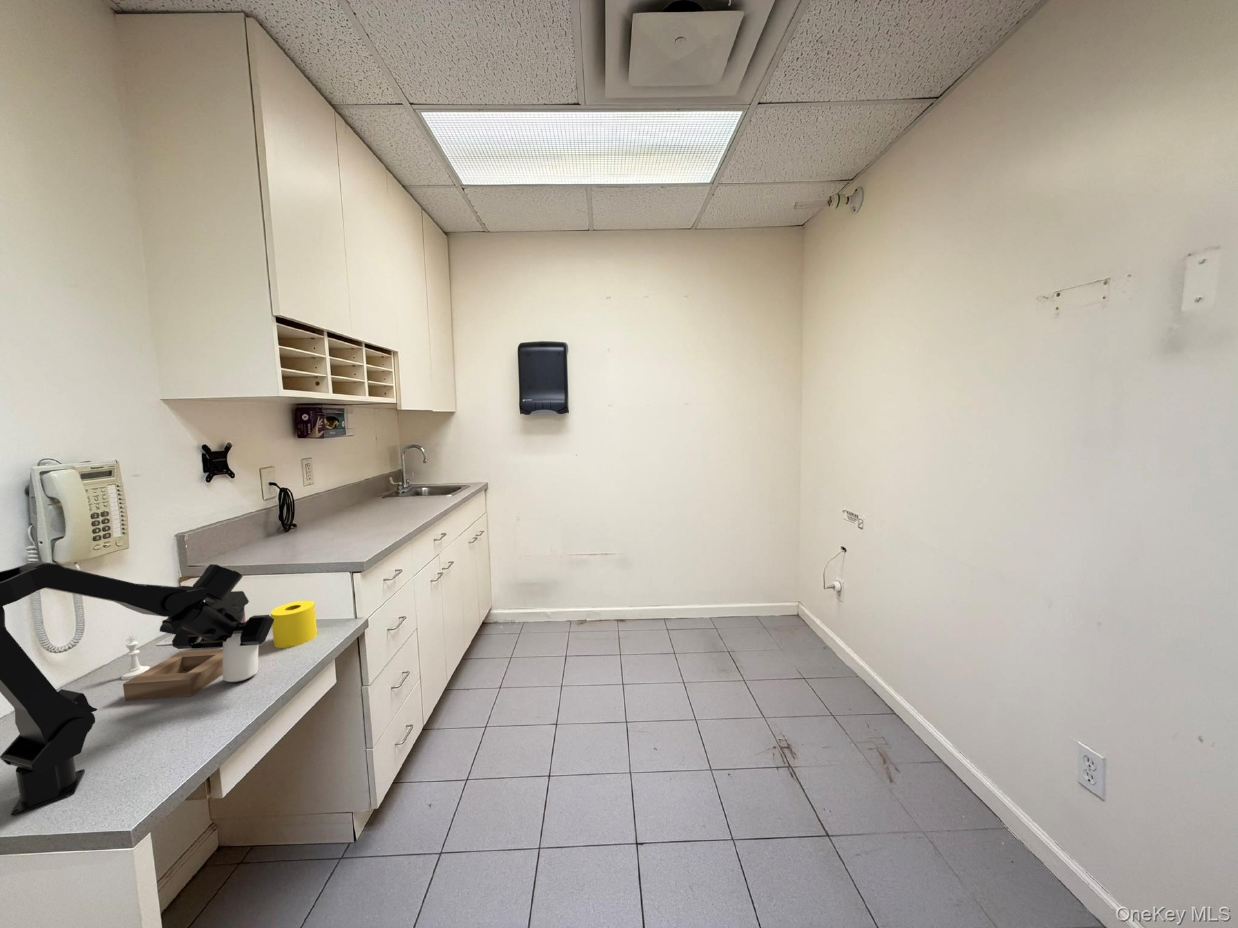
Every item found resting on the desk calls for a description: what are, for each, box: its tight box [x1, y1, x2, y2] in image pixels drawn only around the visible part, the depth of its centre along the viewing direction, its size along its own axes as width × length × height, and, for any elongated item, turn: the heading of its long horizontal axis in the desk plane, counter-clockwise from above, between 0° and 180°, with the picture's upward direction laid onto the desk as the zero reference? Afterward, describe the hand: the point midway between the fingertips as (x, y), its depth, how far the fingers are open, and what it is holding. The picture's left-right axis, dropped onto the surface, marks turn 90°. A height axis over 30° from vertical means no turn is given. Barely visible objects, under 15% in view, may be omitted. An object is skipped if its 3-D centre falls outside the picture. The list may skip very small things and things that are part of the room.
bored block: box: [122, 648, 223, 702], centre depth 105 cm, size 14×14×4 cm
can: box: [222, 633, 259, 683], centre depth 105 cm, size 6×6×12 cm
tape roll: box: [270, 600, 318, 649], centre depth 124 cm, size 10×10×9 cm
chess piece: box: [121, 635, 150, 681], centre depth 108 cm, size 5×5×10 cm
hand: (246, 643), depth 106 cm, fingers open, 6 cm apart
